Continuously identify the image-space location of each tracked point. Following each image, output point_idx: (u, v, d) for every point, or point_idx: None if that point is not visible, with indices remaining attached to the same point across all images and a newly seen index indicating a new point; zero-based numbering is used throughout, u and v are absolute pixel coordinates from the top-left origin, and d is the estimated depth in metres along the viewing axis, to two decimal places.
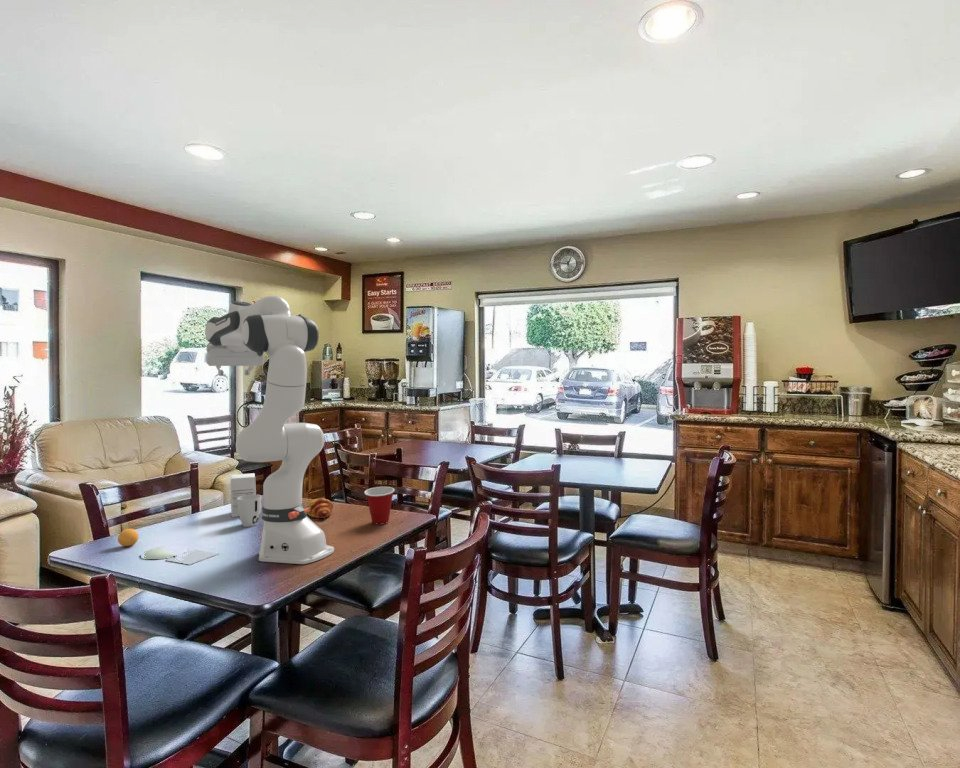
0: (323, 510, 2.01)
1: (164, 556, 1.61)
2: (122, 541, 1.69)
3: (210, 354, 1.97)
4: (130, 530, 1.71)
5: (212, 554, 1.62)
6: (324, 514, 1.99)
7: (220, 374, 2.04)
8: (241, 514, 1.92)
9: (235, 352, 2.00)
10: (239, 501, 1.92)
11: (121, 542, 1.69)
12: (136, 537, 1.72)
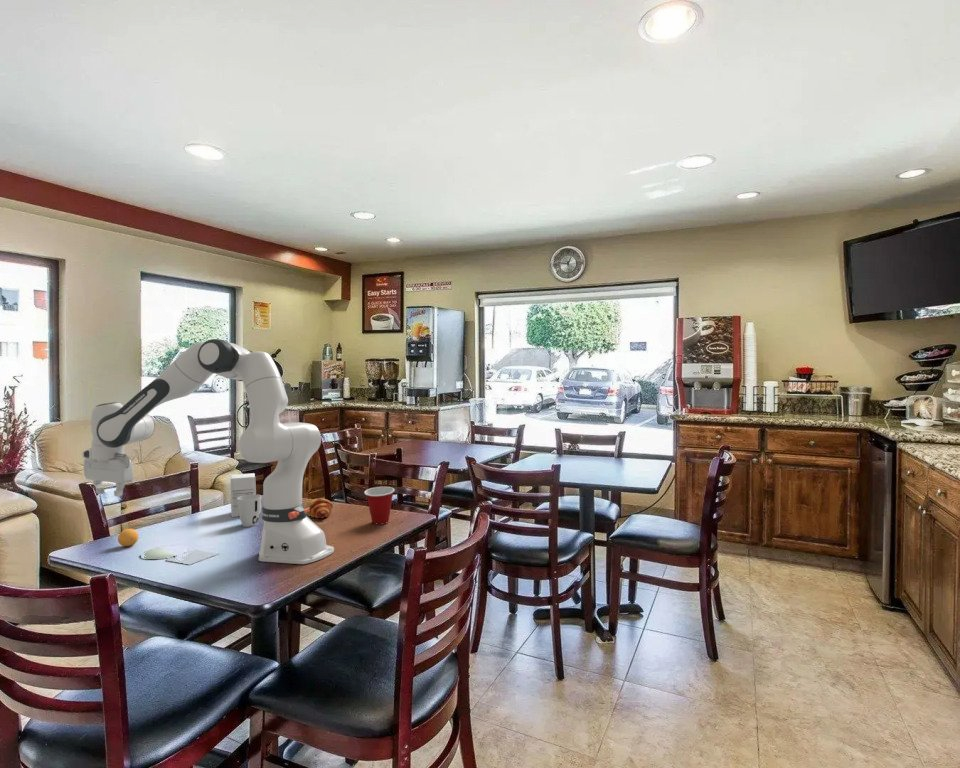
0: (322, 510, 2.01)
1: (164, 556, 1.61)
2: (122, 541, 1.69)
3: None
4: (130, 530, 1.71)
5: (212, 554, 1.62)
6: (322, 514, 1.99)
7: None
8: (241, 514, 1.92)
9: None
10: (239, 501, 1.92)
11: (121, 542, 1.69)
12: (136, 537, 1.72)
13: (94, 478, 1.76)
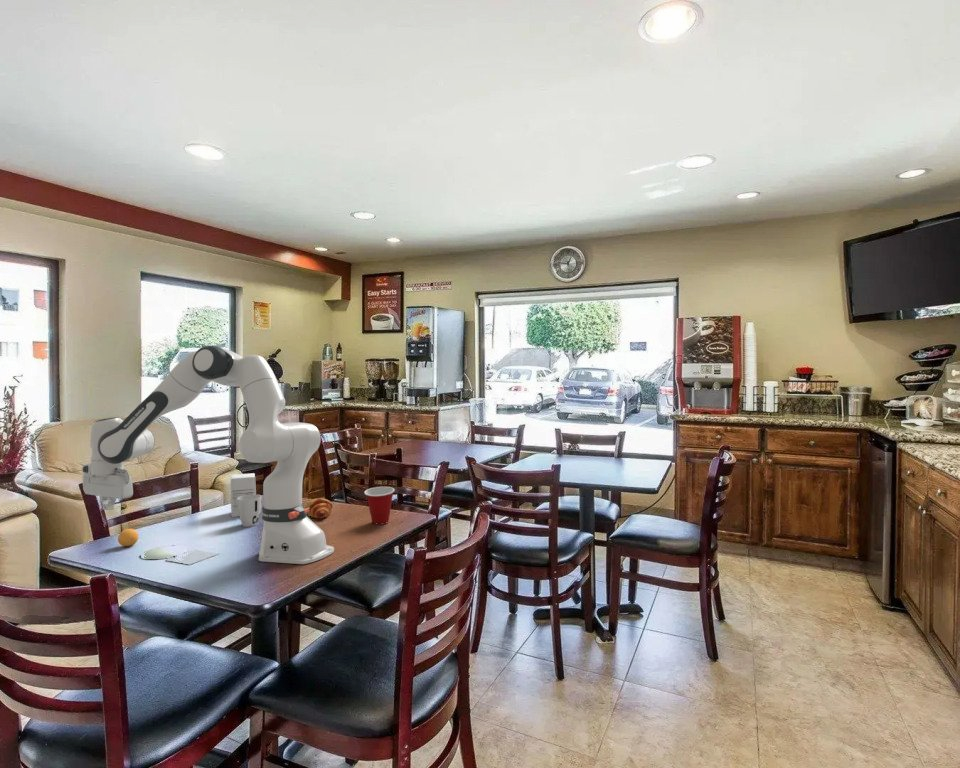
0: (321, 510, 2.01)
1: (164, 556, 1.61)
2: (122, 541, 1.69)
3: None
4: (130, 530, 1.71)
5: (212, 554, 1.62)
6: (322, 514, 1.99)
7: None
8: (241, 514, 1.92)
9: None
10: (239, 501, 1.92)
11: (121, 542, 1.69)
12: (136, 537, 1.72)
13: (93, 493, 1.76)
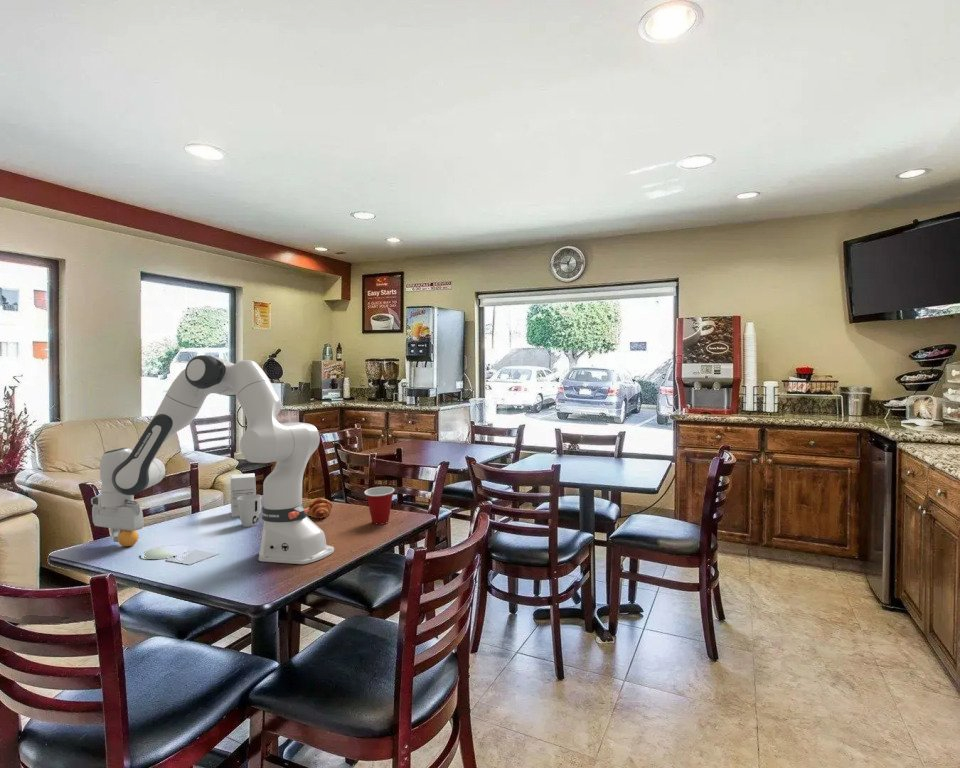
0: (320, 510, 2.01)
1: (164, 556, 1.61)
2: (122, 541, 1.69)
3: None
4: None
5: (212, 554, 1.62)
6: (321, 514, 1.99)
7: None
8: (241, 514, 1.92)
9: None
10: (239, 501, 1.92)
11: (121, 542, 1.69)
12: (136, 537, 1.72)
13: (103, 524, 1.74)
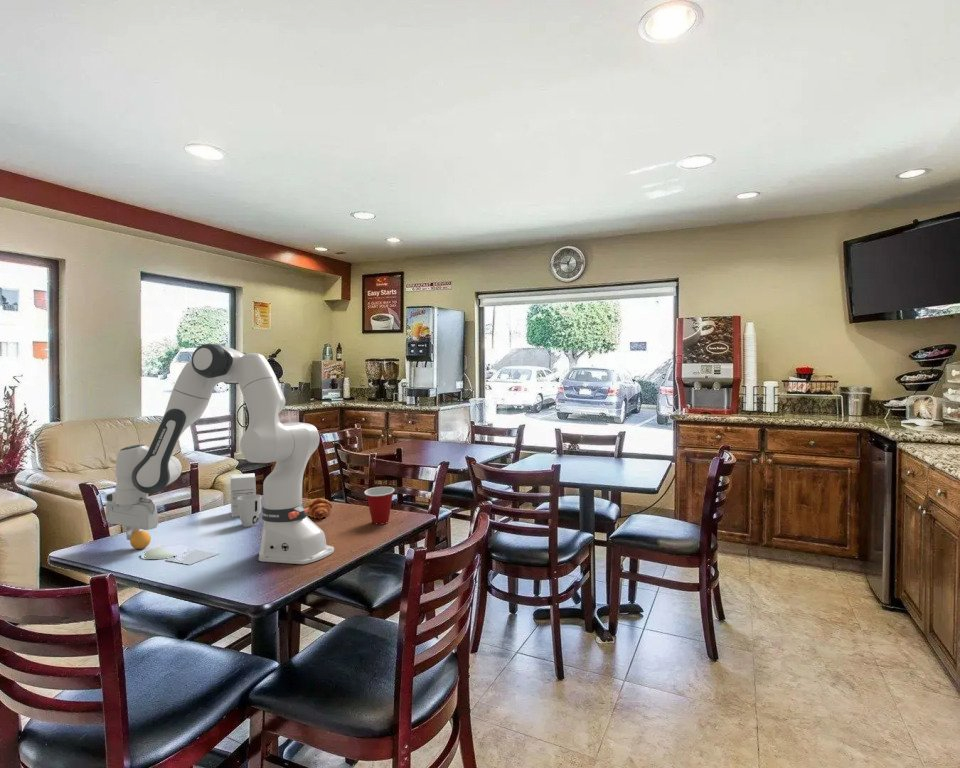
0: (320, 510, 2.01)
1: (164, 556, 1.61)
2: (132, 546, 1.67)
3: None
4: (146, 542, 1.68)
5: (212, 554, 1.62)
6: (320, 514, 1.99)
7: None
8: (241, 514, 1.92)
9: None
10: (239, 501, 1.92)
11: (131, 544, 1.67)
12: None
13: (117, 522, 1.71)
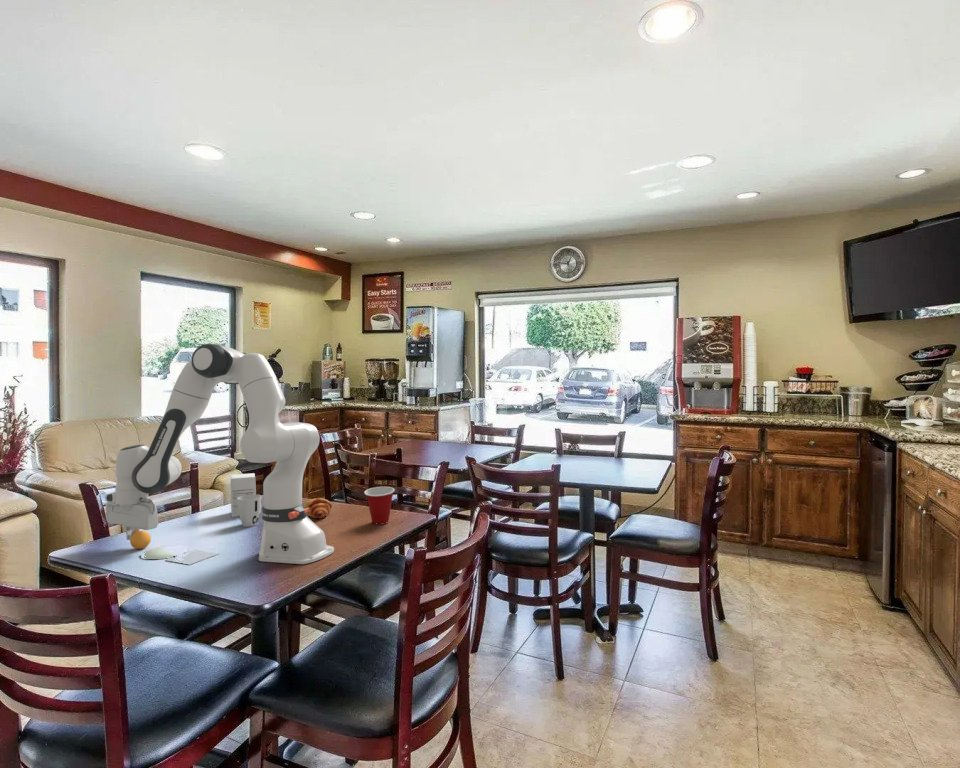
0: (319, 510, 2.01)
1: (164, 556, 1.61)
2: (132, 546, 1.67)
3: None
4: (146, 542, 1.68)
5: (212, 554, 1.62)
6: (319, 514, 1.99)
7: None
8: (241, 514, 1.92)
9: None
10: (239, 501, 1.92)
11: (131, 544, 1.67)
12: None
13: (117, 522, 1.71)
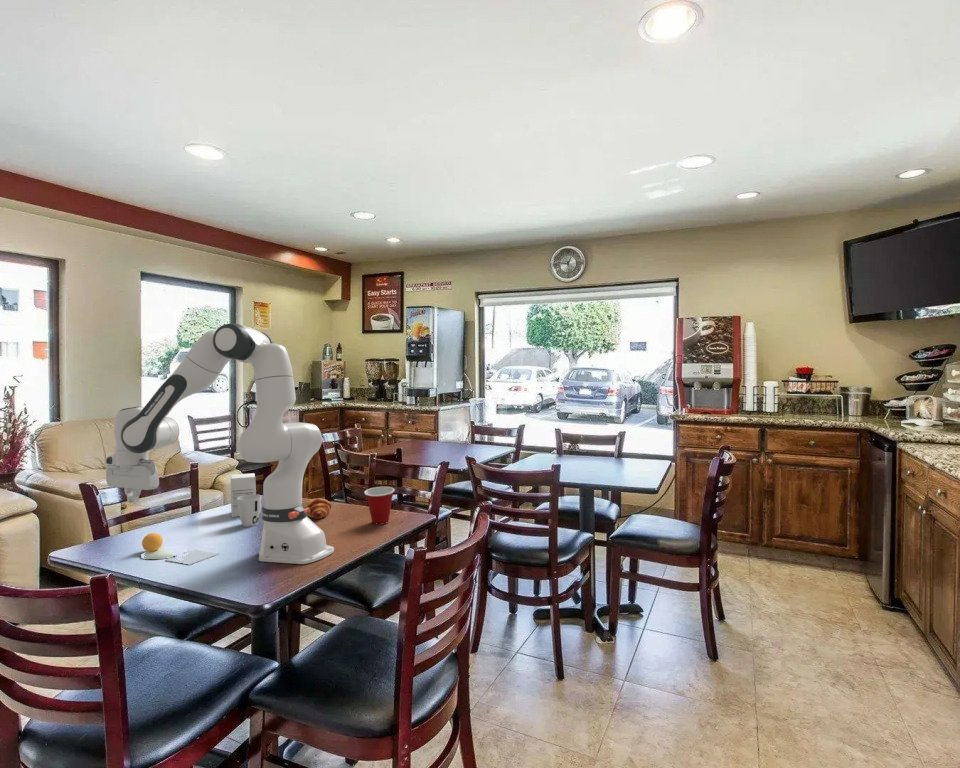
0: (318, 510, 2.01)
1: (164, 556, 1.61)
2: (142, 542, 1.65)
3: None
4: None
5: (212, 554, 1.62)
6: (318, 514, 1.99)
7: None
8: (241, 514, 1.92)
9: None
10: (239, 501, 1.92)
11: (143, 541, 1.65)
12: None
13: (117, 485, 1.70)
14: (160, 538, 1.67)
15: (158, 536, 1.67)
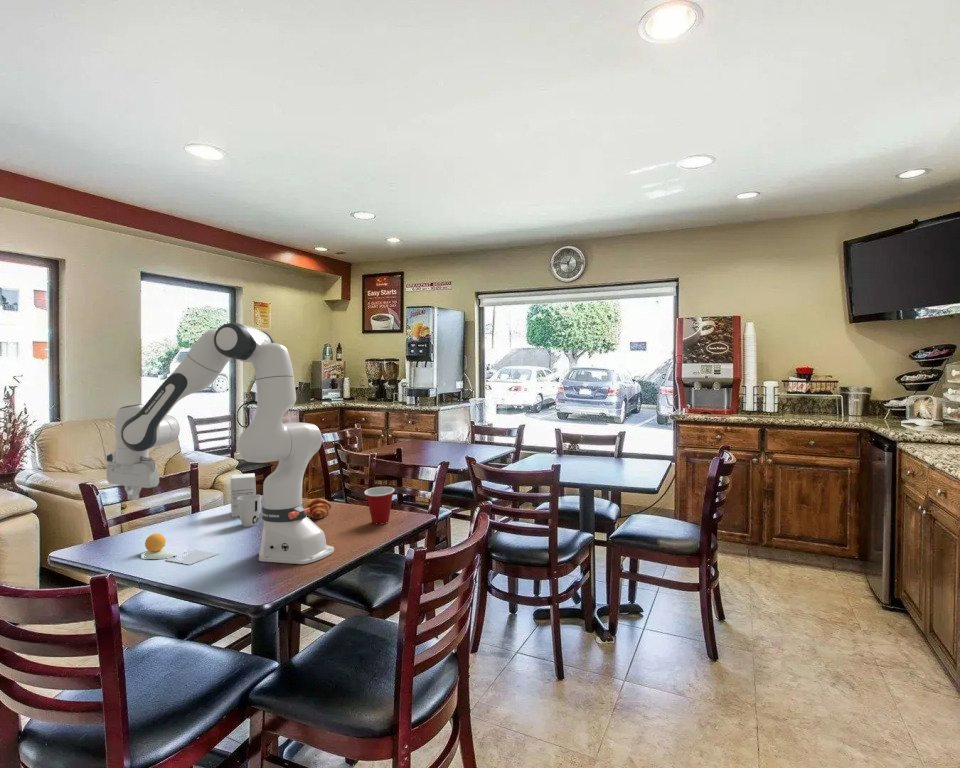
0: (317, 510, 2.01)
1: (164, 556, 1.61)
2: (146, 541, 1.64)
3: None
4: None
5: (212, 554, 1.62)
6: (318, 514, 1.99)
7: None
8: (241, 514, 1.92)
9: None
10: (239, 501, 1.92)
11: (147, 542, 1.64)
12: None
13: (118, 482, 1.70)
14: (164, 543, 1.66)
15: (162, 541, 1.66)
